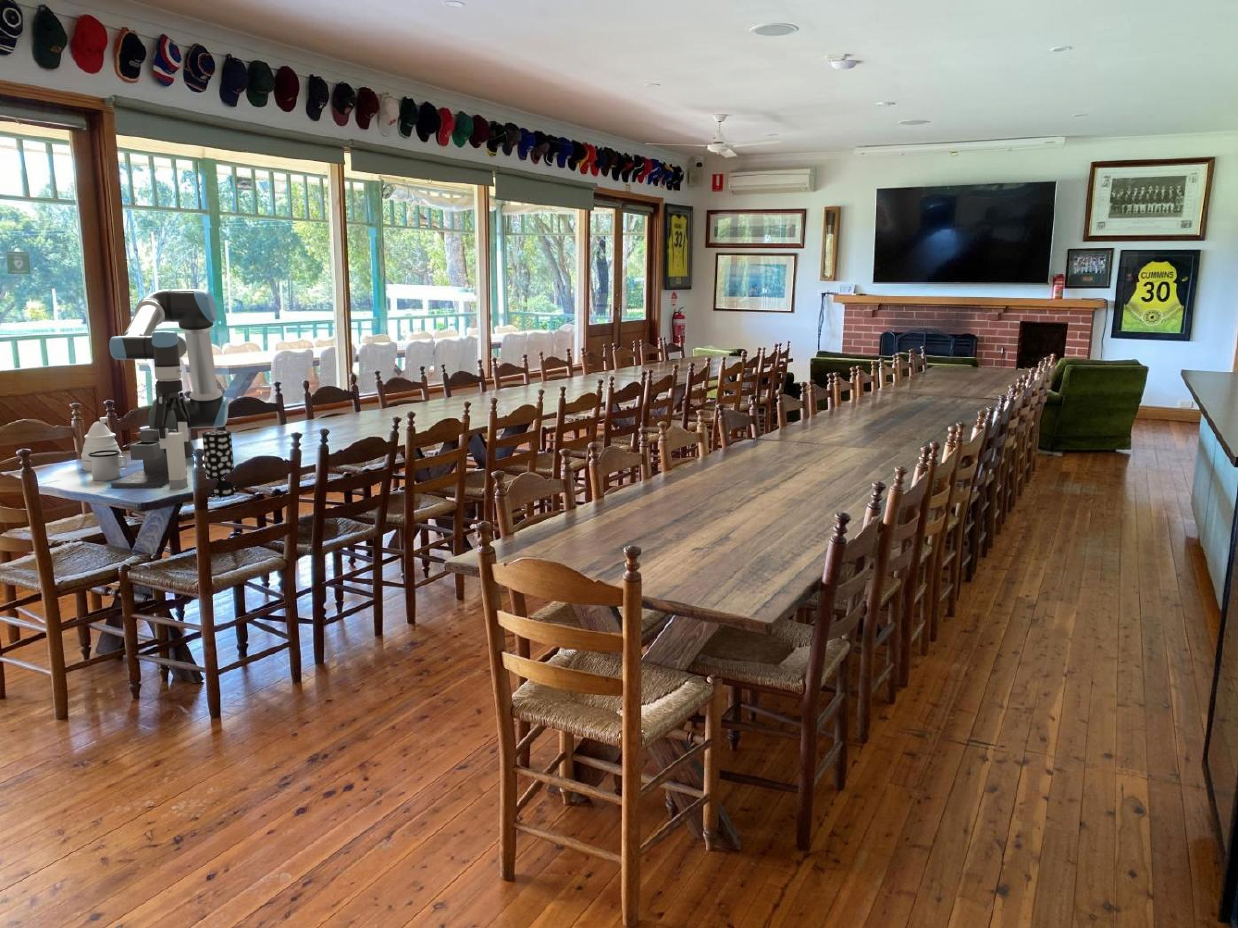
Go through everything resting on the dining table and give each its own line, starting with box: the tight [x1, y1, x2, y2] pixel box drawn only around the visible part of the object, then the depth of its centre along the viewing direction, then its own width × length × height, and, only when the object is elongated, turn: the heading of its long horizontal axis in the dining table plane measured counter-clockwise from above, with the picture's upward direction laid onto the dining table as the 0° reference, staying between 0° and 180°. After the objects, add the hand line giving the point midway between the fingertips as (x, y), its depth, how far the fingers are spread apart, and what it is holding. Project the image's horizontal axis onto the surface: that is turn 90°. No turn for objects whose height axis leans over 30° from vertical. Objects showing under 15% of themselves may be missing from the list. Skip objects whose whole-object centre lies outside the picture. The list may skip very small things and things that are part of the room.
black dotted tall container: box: [201, 430, 237, 499], centre depth 290 cm, size 8×8×20 cm
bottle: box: [147, 383, 176, 430], centre depth 333 cm, size 9×9×30 cm
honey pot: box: [80, 416, 124, 472], centre depth 331 cm, size 13×13×18 cm
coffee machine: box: [110, 429, 188, 489], centre depth 310 cm, size 20×16×16 cm
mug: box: [88, 450, 128, 482], centre depth 315 cm, size 12×10×9 cm
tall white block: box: [166, 433, 189, 490], centre depth 300 cm, size 4×4×18 cm
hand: (174, 445), depth 299 cm, fingers open, 13 cm apart
